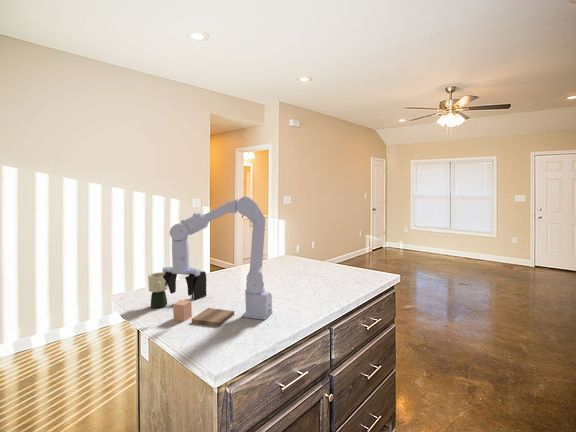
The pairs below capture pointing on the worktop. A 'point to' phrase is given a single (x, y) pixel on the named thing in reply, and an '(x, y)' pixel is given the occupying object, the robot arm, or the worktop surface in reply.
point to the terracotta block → (182, 310)
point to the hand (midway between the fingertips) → (181, 293)
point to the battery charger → (200, 286)
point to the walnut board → (213, 317)
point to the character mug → (157, 289)
